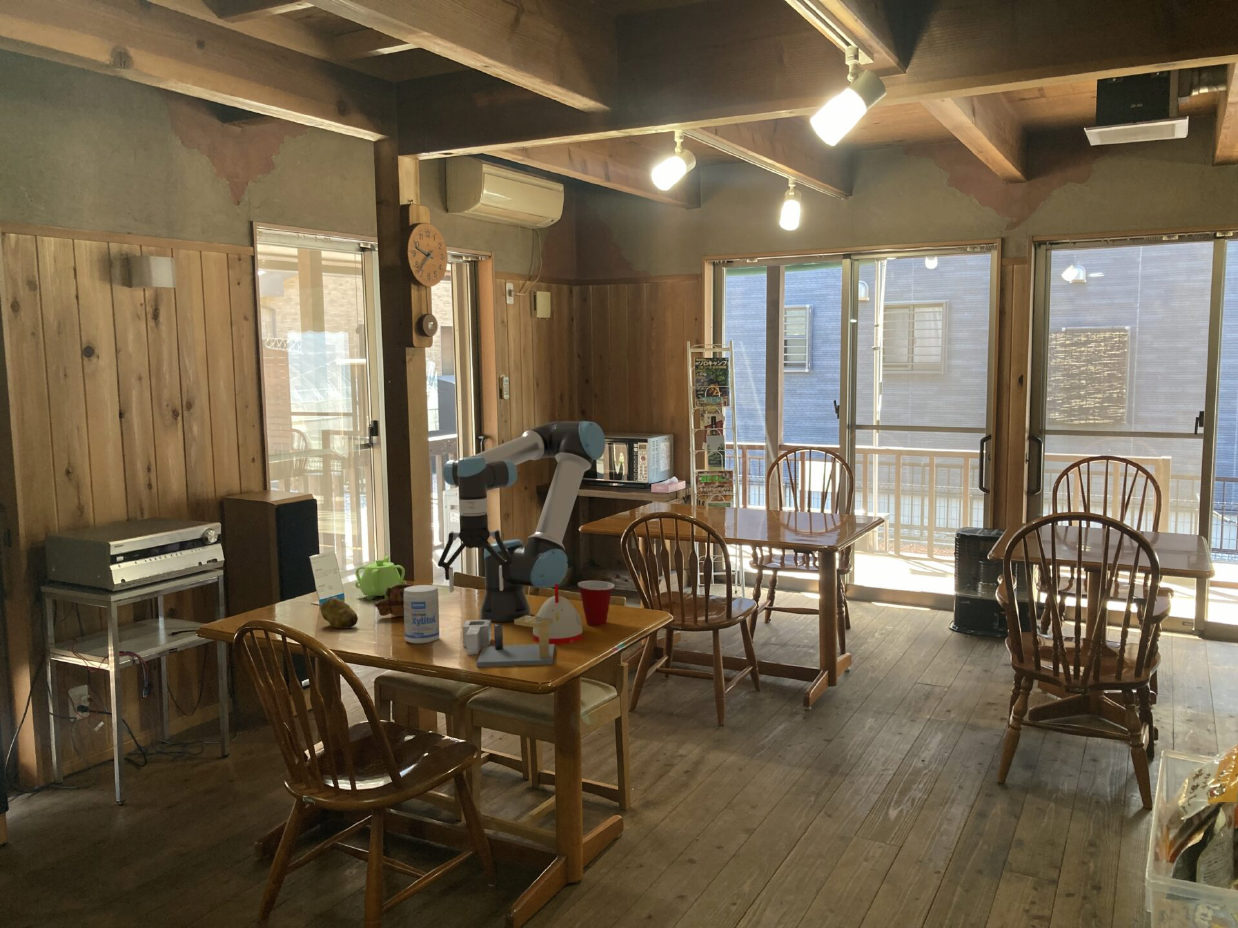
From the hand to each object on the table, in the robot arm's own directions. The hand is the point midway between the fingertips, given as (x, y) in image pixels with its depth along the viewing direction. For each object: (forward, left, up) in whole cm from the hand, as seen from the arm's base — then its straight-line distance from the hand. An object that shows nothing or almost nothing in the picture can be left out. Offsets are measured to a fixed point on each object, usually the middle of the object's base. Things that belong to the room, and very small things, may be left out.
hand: (476, 590), depth 262 cm
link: (+4, 0, -15) cm, 15 cm away
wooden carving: (-33, -27, -15) cm, 45 cm away
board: (+15, +12, -15) cm, 24 cm away
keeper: (+18, +17, -13) cm, 28 cm away
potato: (-23, -44, -15) cm, 52 cm away
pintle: (+11, +7, -13) cm, 19 cm away
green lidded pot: (-63, -40, -15) cm, 76 cm away
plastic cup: (-17, +33, -15) cm, 40 cm away
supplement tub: (-5, -16, -15) cm, 23 cm away
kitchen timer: (-3, +22, -15) cm, 27 cm away
